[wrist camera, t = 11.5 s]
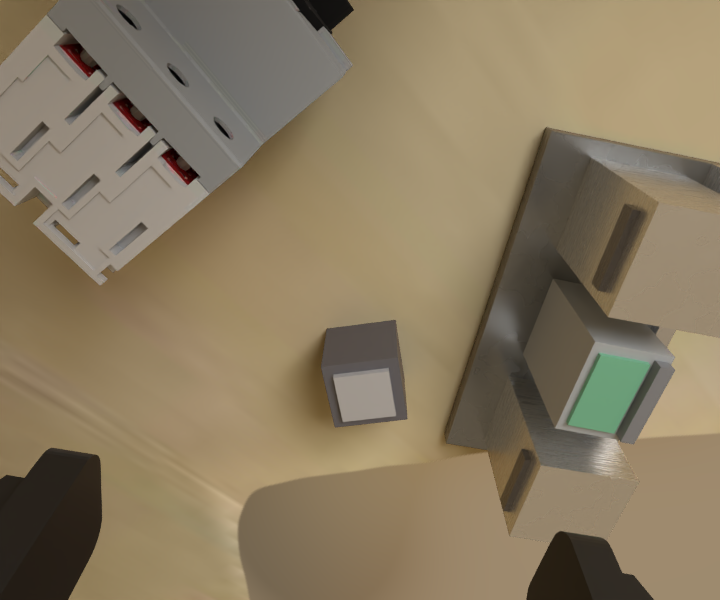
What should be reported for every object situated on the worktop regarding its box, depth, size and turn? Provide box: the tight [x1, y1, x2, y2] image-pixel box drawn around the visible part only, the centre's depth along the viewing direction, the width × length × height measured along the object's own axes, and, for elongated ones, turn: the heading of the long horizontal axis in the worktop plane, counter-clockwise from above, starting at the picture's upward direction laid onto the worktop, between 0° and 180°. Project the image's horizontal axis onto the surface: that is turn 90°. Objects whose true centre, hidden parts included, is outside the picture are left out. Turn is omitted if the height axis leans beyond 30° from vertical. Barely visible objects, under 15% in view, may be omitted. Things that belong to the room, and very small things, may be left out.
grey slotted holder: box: [445, 127, 720, 543], centre depth 35 cm, size 24×11×10 cm, turn 169°
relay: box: [321, 320, 407, 427], centre depth 39 cm, size 5×5×5 cm
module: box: [523, 279, 675, 444], centre depth 35 cm, size 6×4×9 cm
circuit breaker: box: [0, 0, 354, 285], centre depth 26 cm, size 8×14×15 cm, turn 128°
